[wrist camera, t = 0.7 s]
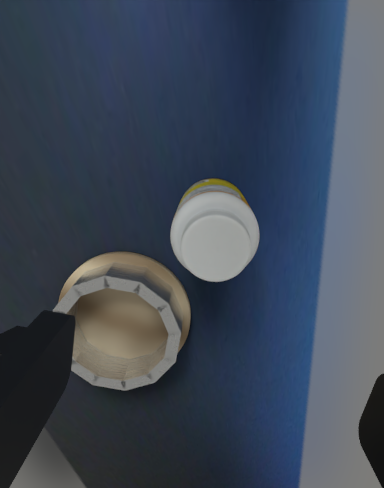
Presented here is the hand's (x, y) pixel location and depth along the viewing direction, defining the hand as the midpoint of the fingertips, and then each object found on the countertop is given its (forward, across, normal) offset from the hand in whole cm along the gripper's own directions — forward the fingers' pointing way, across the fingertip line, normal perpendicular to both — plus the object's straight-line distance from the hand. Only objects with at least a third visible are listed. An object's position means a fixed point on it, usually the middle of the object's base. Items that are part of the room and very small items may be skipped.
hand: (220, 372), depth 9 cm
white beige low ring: (+20, +6, +11) cm, 23 cm away
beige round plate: (+21, +6, +11) cm, 24 cm away
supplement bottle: (+21, 0, 0) cm, 21 cm away
